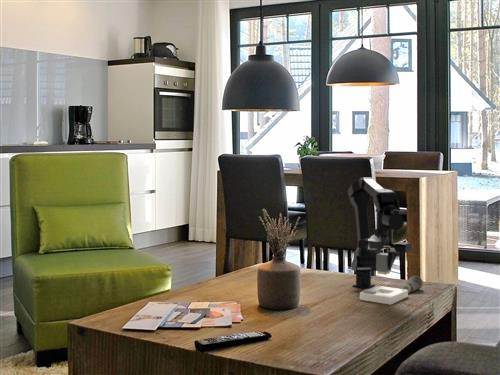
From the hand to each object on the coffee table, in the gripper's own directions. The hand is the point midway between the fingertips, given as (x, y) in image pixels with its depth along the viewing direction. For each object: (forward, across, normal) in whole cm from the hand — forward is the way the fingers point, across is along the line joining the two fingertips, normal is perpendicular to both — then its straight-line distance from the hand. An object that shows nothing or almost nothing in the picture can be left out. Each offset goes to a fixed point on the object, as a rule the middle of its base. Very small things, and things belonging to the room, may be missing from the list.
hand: (383, 269), depth 250 cm
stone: (+11, +4, +17) cm, 21 cm away
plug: (+2, 0, 0) cm, 2 cm away
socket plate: (+11, 0, 0) cm, 11 cm away
